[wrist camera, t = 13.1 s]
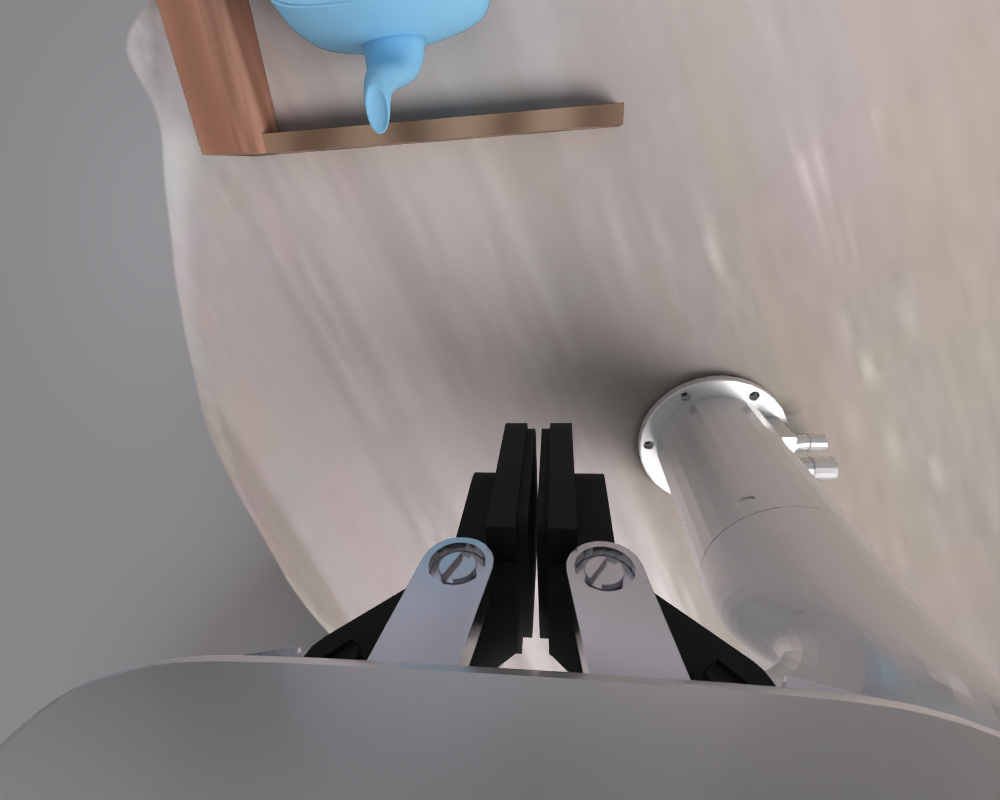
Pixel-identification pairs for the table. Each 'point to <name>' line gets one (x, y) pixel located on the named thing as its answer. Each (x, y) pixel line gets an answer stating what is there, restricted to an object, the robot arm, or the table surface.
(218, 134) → the guide track
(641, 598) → the robot arm
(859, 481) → the table surface
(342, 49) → the teapot
